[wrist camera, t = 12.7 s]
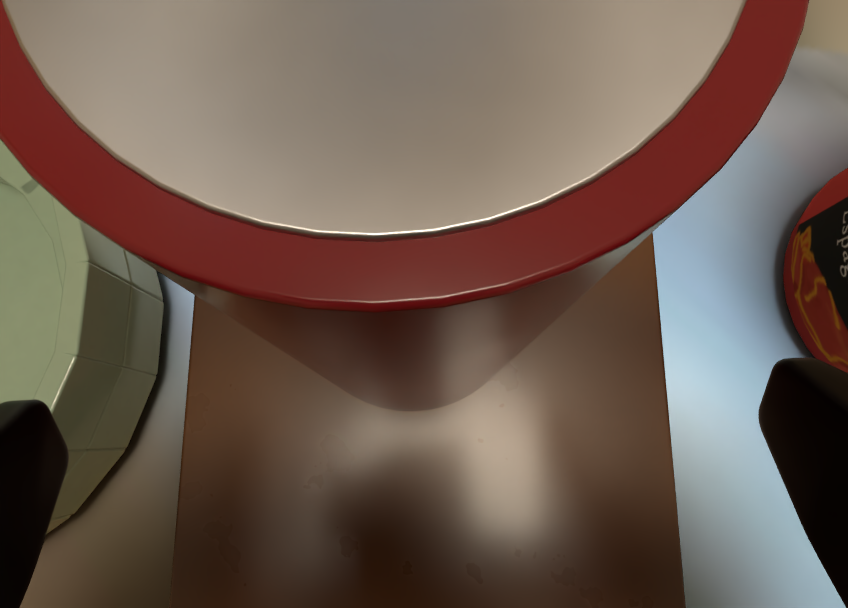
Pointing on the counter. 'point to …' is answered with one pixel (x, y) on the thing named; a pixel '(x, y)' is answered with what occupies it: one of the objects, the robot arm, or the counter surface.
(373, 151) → the drink can
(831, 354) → the canned food
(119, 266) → the bowl
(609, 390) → the cutting board
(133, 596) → the counter surface
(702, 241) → the counter surface
